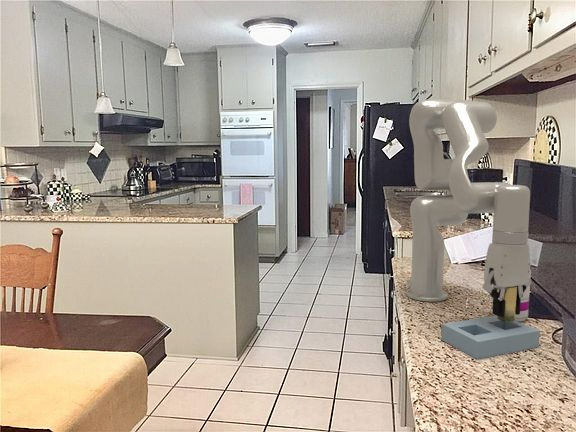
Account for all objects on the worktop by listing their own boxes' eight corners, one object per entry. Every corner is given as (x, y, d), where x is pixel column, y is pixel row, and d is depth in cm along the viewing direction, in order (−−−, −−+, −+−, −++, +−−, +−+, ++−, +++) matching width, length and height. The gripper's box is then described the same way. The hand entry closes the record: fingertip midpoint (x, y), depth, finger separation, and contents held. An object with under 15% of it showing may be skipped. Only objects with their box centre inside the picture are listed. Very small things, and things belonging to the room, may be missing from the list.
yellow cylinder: (493, 317, 118) (494, 284, 117) (505, 315, 120) (507, 283, 119) (505, 322, 115) (507, 289, 114) (519, 320, 116) (521, 287, 115)
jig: (441, 339, 119) (442, 324, 118) (499, 329, 125) (500, 314, 125) (477, 359, 108) (478, 341, 107) (538, 347, 114) (539, 330, 114)
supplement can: (531, 323, 130) (535, 268, 128) (498, 321, 131) (501, 266, 129) (523, 313, 138) (526, 261, 136) (492, 311, 139) (494, 259, 137)
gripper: (524, 233, 121) (520, 305, 124) (469, 238, 115) (466, 313, 118) (550, 238, 114) (545, 314, 117) (493, 243, 108) (490, 323, 111)
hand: (506, 313), depth 117 cm, fingers closed on yellow cylinder, 4 cm apart
